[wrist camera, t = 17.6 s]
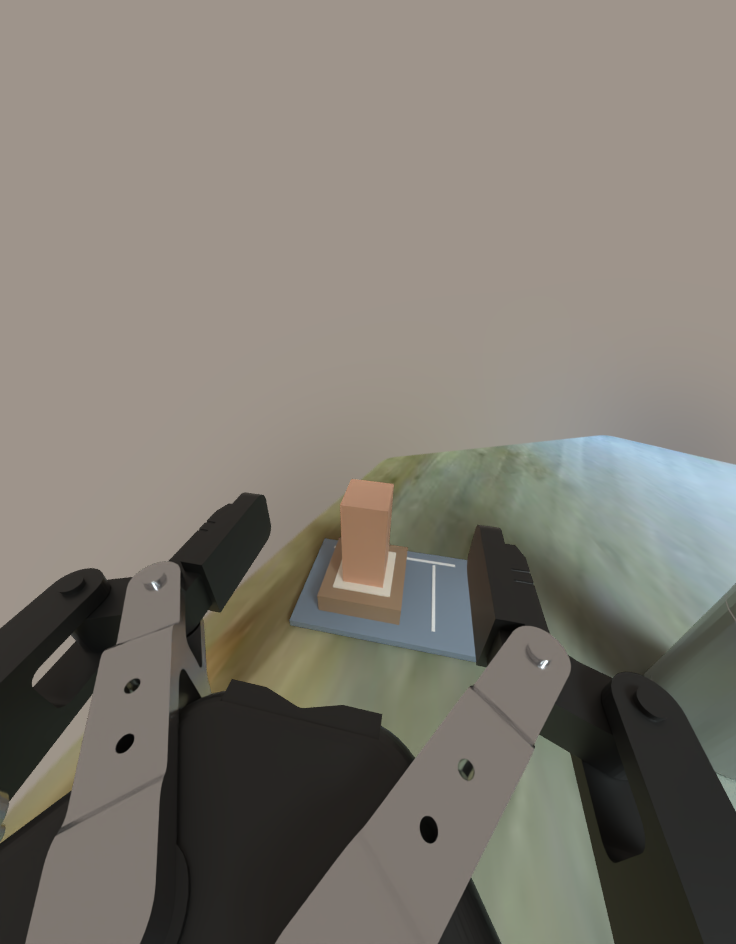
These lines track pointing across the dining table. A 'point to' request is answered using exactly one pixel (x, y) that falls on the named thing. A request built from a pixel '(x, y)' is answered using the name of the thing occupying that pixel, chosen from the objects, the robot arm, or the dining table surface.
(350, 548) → the terracotta pillar
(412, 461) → the dining table surface
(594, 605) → the dining table surface
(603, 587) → the dining table surface
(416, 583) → the blueprint board
